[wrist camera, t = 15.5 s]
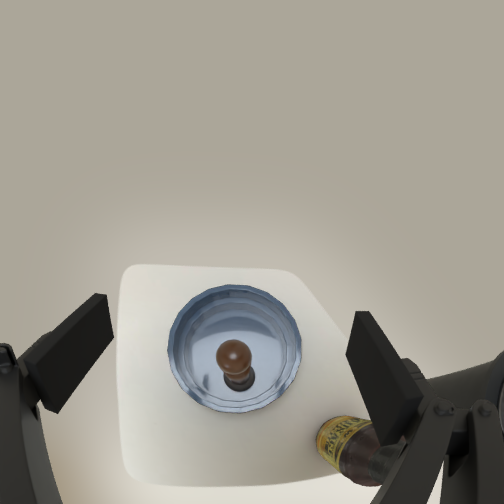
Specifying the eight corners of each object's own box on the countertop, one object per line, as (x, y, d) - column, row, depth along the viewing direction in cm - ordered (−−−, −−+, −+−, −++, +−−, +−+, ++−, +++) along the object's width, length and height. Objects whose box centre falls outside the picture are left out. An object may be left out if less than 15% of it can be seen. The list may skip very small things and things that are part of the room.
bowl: (293, 304, 38) (301, 287, 33) (291, 412, 31) (299, 414, 26) (186, 298, 38) (177, 280, 33) (174, 404, 32) (161, 404, 26)
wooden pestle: (222, 365, 33) (198, 329, 17) (252, 360, 34) (258, 320, 17) (227, 394, 32) (206, 388, 15) (257, 389, 32) (269, 378, 16)
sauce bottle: (339, 405, 32) (427, 402, 14) (369, 435, 30) (470, 449, 12) (300, 441, 30) (359, 480, 12) (332, 471, 27) (411, 521, 10)
